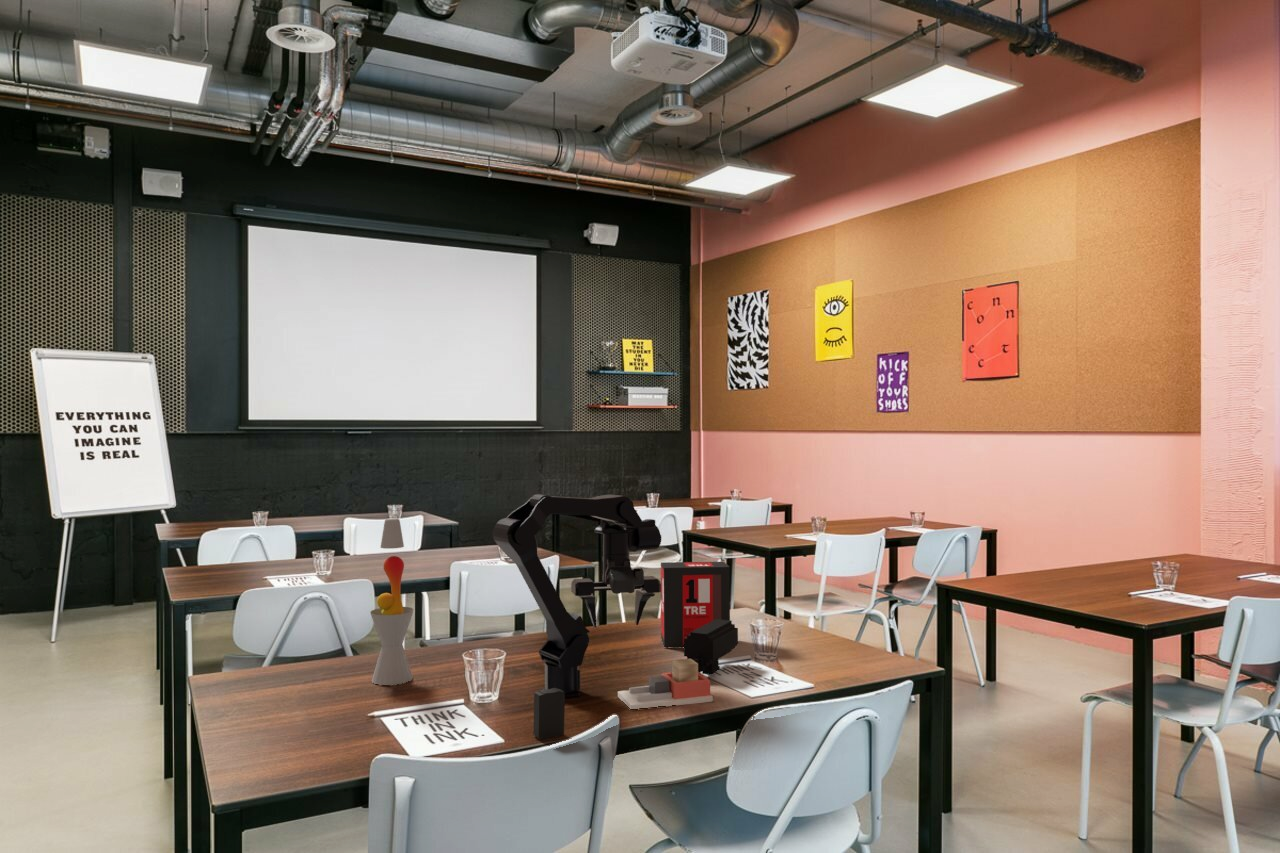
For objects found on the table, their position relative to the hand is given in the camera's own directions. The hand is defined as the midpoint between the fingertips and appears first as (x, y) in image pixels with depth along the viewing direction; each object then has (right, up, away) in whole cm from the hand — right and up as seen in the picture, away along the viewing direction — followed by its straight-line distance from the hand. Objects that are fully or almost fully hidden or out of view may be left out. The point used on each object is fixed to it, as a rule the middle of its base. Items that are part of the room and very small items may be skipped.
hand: (615, 625), depth 177 cm
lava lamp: (-49, -12, +2) cm, 50 cm away
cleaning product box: (+19, -13, +33) cm, 40 cm away
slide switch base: (+10, -12, -12) cm, 20 cm away
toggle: (+9, -11, -13) cm, 19 cm away
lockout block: (+14, -11, -11) cm, 21 cm away
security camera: (+21, -12, +6) cm, 25 cm away
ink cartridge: (-11, -12, -32) cm, 36 cm away
